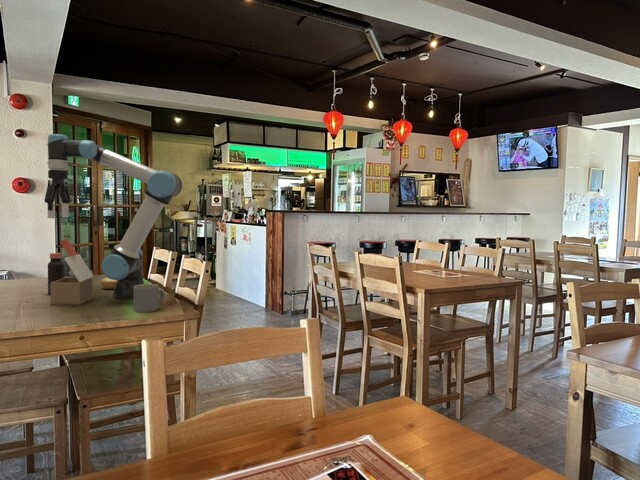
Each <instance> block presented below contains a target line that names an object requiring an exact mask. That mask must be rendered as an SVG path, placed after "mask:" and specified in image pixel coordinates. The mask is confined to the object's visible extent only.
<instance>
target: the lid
mask: <svg viewBox="0 0 640 480" xmlns="http://www.w3.org/2000/svg"><path fill="white" fill-rule="evenodd" d="M60 244H61V246H62V247H63V249H64V250H65V252H66V254H67V255H68V256H66V257H64V260H65V262H66V263H67V265H68V266H69V268H70V270H72V271H73V273H74V274H75V276H76V278H77V279H78V281H79V282H82V281H84V280H87V279H89V278H92V279H93V278H94V276H95V275H94V274H92V273H91V271H90V270H91V269H89V266H88V265H87V264H86V262H85V261H84V259H83V257H82V256H81V254H80V253H79V254H78V252H76V249H75V248H74V246H73V245H72V243H71V241H70V240H69V239H68V238H64V239H62V240H60Z"/></svg>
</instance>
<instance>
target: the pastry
mask: <svg viewBox="0 0 640 480" xmlns="http://www.w3.org/2000/svg"><path fill="white" fill-rule="evenodd" d="M116 283H117V280H112V279H109V278H108V277H105V278H102V279H101V280H100V285H101V287H102V289H103V290H109V291H110V290H111V291H112V290H113V291H114V289H115V286H116Z"/></svg>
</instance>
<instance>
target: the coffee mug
mask: <svg viewBox="0 0 640 480" xmlns="http://www.w3.org/2000/svg"><path fill="white" fill-rule="evenodd" d="M159 286H160V285H158V284H157V283H156V284H154V283H145V284H141V285H136V286H134V287H133V295H134V298H133V311H134V312H135V313H137V312H138V313H150V312H155V310H156V311H157V310H159V309H160V303H161V302H162V301H163V300H164V299H165V297H166V296H165V294H166V293H165V292H166V291H165V290H164V288H161V287H159ZM159 292H160V294H159ZM159 295H160V296H159Z"/></svg>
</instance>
